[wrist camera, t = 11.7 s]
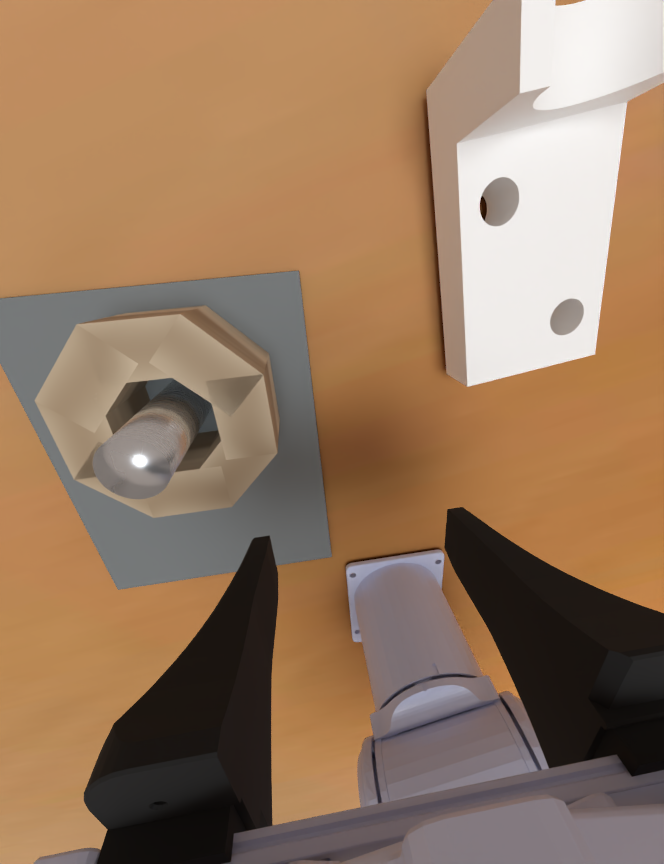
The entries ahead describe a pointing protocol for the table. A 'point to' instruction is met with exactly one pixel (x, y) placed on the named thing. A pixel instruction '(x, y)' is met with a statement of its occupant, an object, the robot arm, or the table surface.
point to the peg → (151, 443)
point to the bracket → (533, 175)
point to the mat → (268, 494)
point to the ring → (126, 395)
